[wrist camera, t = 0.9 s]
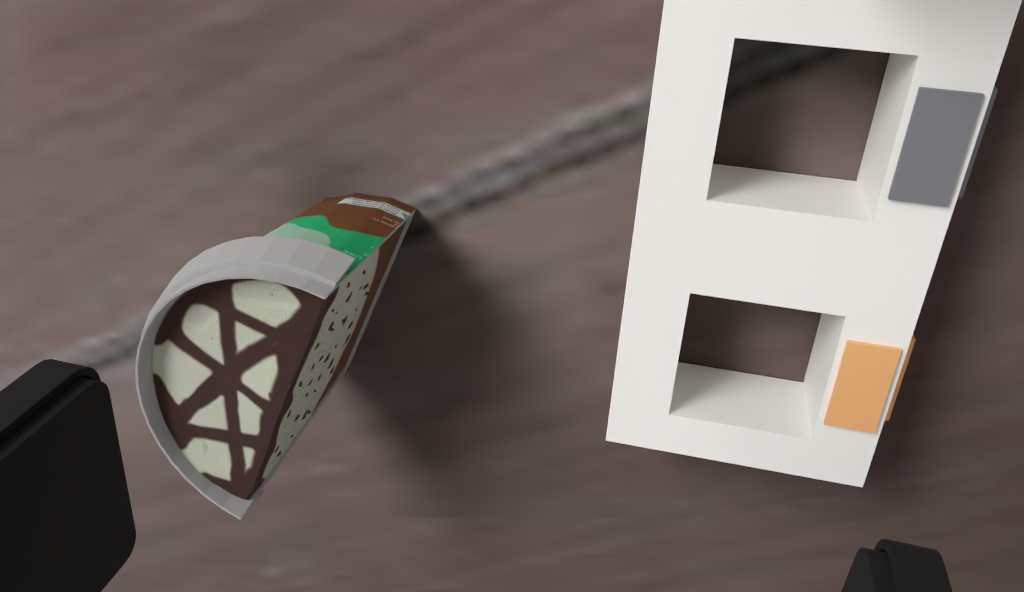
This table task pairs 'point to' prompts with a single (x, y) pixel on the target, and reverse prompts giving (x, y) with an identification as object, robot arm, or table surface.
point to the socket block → (798, 230)
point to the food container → (262, 341)
